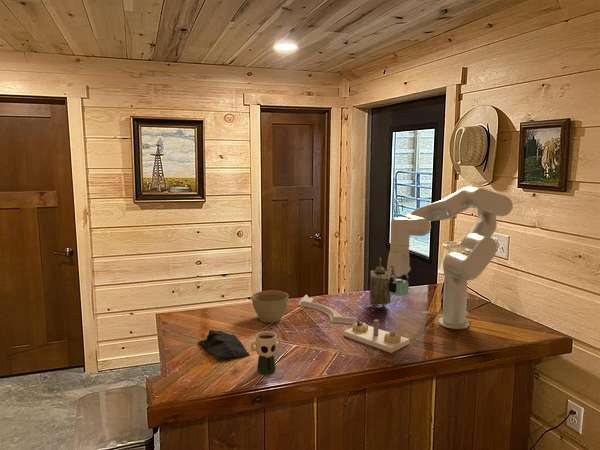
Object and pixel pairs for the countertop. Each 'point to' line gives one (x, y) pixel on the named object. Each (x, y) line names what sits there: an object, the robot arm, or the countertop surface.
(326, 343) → the countertop surface
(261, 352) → the character mug
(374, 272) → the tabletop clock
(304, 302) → the molding
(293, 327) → the countertop surface
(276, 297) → the planter bowl
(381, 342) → the gear board
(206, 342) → the dark slate chunk
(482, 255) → the robot arm
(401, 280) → the loose gear
